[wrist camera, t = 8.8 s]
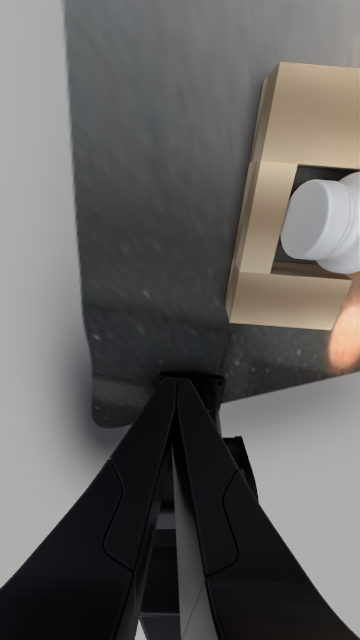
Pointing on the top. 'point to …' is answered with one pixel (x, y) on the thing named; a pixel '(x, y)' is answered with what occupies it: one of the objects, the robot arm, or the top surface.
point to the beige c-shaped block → (275, 187)
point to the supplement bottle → (325, 224)
